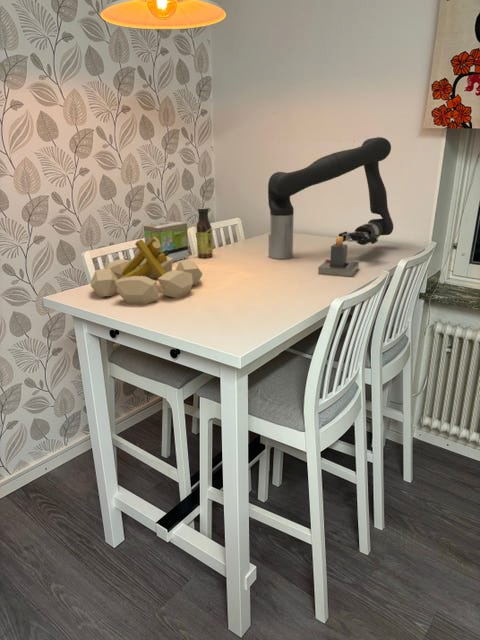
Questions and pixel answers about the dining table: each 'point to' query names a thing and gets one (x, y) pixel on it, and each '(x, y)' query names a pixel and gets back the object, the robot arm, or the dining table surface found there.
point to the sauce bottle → (204, 234)
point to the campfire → (146, 276)
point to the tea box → (169, 238)
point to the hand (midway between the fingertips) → (351, 241)
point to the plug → (338, 253)
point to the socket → (338, 269)
